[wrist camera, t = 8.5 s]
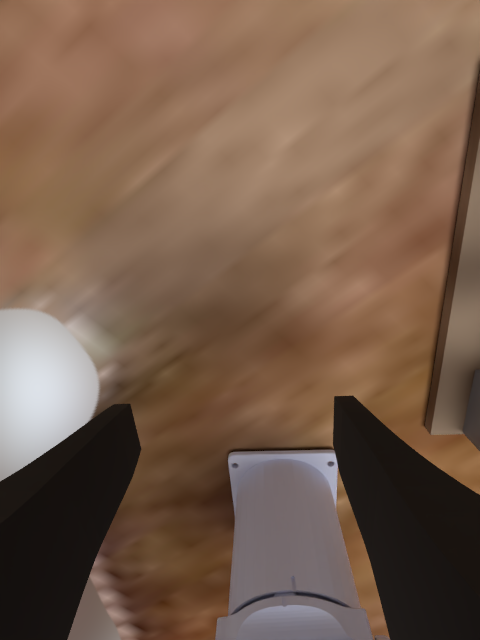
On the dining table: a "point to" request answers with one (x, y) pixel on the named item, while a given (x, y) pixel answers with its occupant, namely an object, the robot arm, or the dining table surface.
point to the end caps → (473, 413)
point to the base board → (460, 305)
